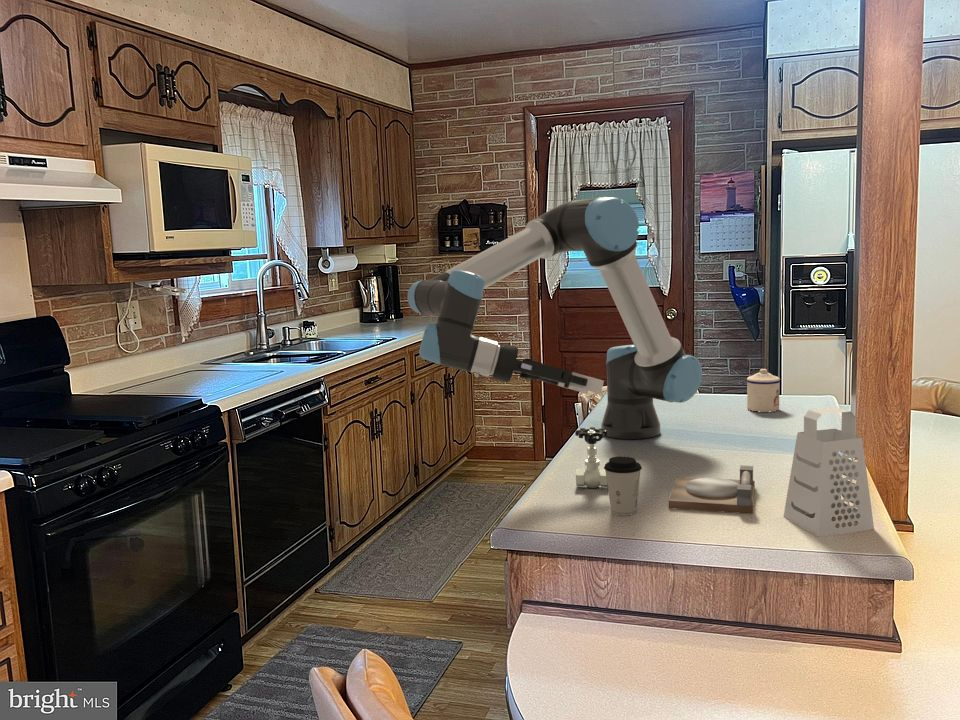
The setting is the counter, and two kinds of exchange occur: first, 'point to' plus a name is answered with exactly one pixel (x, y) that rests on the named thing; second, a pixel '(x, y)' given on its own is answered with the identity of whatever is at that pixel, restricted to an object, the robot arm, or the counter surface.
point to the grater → (828, 477)
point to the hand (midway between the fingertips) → (595, 387)
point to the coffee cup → (623, 484)
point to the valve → (591, 460)
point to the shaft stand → (715, 493)
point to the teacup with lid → (763, 392)
